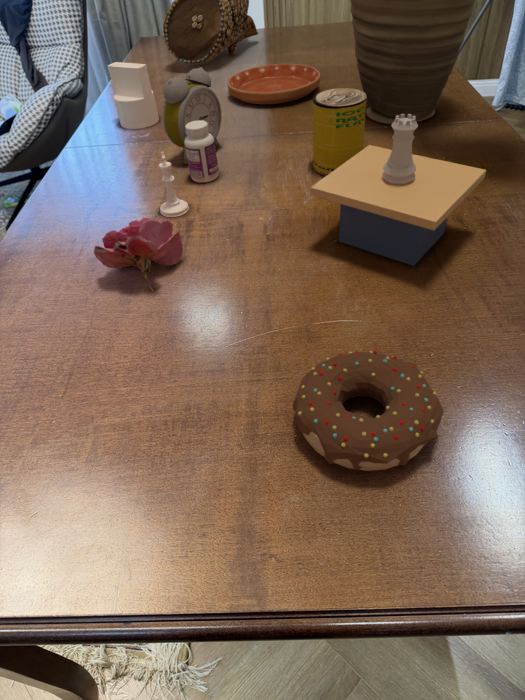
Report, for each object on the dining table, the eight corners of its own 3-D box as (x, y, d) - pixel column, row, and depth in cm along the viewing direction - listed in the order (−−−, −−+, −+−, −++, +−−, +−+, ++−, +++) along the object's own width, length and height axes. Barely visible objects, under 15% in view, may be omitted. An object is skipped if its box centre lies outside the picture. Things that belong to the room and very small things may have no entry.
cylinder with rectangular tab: (112, 126, 117) (97, 70, 109) (136, 113, 123) (123, 58, 114) (143, 131, 114) (129, 72, 105) (166, 116, 119) (155, 60, 111)
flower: (123, 277, 78) (133, 212, 76) (179, 291, 76) (191, 225, 74) (75, 277, 68) (86, 201, 66) (140, 294, 65) (152, 216, 63)
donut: (362, 509, 44) (366, 479, 41) (269, 414, 52) (266, 382, 49) (468, 427, 50) (479, 393, 46) (368, 352, 58) (372, 319, 54)
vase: (480, 126, 104) (508, -53, 80) (363, 147, 106) (358, -20, 83) (448, 74, 119) (465, -89, 96) (347, 94, 122) (339, -60, 99)
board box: (472, 229, 75) (486, 169, 68) (424, 284, 66) (435, 221, 60) (365, 200, 84) (369, 144, 77) (310, 245, 75) (310, 187, 69)
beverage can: (370, 160, 94) (375, 91, 86) (348, 180, 89) (351, 109, 81) (328, 152, 98) (329, 85, 90) (304, 170, 93) (303, 102, 85)
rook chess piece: (400, 189, 66) (408, 127, 61) (374, 179, 69) (379, 118, 63) (422, 177, 68) (431, 116, 63) (396, 168, 71) (402, 108, 65)
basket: (178, -6, 162) (136, -5, 134) (236, -50, 153) (204, -59, 125) (216, 68, 172) (184, 83, 144) (273, 31, 163) (251, 39, 135)
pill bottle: (214, 168, 97) (207, 116, 90) (223, 179, 93) (215, 125, 86) (187, 174, 96) (177, 122, 89) (195, 186, 92) (185, 132, 85)
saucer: (215, 107, 122) (212, 90, 119) (247, 77, 137) (245, 62, 134) (306, 110, 115) (306, 93, 113) (329, 79, 130) (329, 63, 128)
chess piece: (162, 219, 84) (148, 161, 77) (158, 206, 87) (144, 149, 80) (191, 213, 85) (180, 155, 78) (186, 200, 88) (175, 143, 81)
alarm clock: (188, 168, 98) (173, 84, 87) (164, 161, 101) (146, 79, 90) (227, 146, 104) (217, 65, 94) (202, 140, 107) (190, 62, 97)
